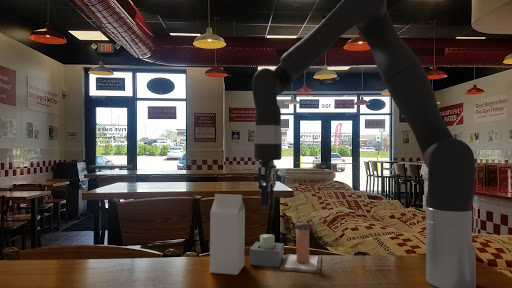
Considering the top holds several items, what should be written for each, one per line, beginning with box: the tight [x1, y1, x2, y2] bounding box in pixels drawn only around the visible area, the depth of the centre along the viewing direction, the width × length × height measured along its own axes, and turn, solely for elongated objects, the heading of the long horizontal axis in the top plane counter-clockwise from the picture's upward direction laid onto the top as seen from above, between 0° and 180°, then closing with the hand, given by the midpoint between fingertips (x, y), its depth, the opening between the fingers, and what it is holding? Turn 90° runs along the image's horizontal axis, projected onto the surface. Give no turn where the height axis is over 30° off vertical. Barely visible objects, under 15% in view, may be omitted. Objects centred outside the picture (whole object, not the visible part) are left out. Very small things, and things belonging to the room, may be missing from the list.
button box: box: [248, 241, 285, 268], centre depth 95 cm, size 8×8×4 cm
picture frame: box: [279, 253, 323, 275], centre depth 92 cm, size 10×13×1 cm
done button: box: [259, 233, 276, 249], centre depth 95 cm, size 4×4×5 cm
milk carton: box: [209, 193, 246, 275], centre depth 88 cm, size 7×7×19 cm
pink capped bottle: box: [295, 222, 310, 263], centre depth 92 cm, size 4×4×10 cm
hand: (267, 203), depth 95 cm, fingers open, 6 cm apart
